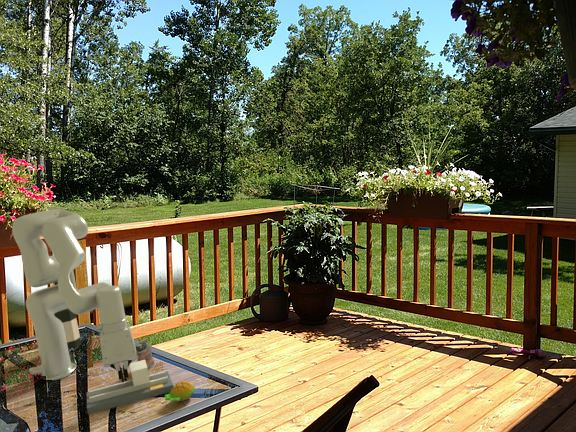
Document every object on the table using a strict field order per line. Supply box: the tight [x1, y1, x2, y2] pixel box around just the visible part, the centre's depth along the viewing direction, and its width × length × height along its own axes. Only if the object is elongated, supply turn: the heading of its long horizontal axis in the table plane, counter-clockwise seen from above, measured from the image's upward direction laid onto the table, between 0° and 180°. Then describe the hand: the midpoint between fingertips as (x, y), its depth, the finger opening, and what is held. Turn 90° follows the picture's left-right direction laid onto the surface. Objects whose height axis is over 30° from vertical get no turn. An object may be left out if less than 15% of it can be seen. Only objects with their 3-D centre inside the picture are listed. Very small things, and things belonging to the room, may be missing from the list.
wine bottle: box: [53, 282, 82, 349], centre depth 221 cm, size 8×8×30 cm
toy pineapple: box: [164, 380, 196, 403], centre depth 166 cm, size 7×10×5 cm
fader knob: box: [129, 360, 150, 386], centre depth 176 cm, size 5×7×6 cm
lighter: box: [136, 337, 155, 371], centre depth 193 cm, size 8×3×10 cm, turn 168°
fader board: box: [86, 370, 174, 415], centre depth 175 cm, size 26×12×4 cm, turn 110°
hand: (124, 380), depth 174 cm, fingers closed
